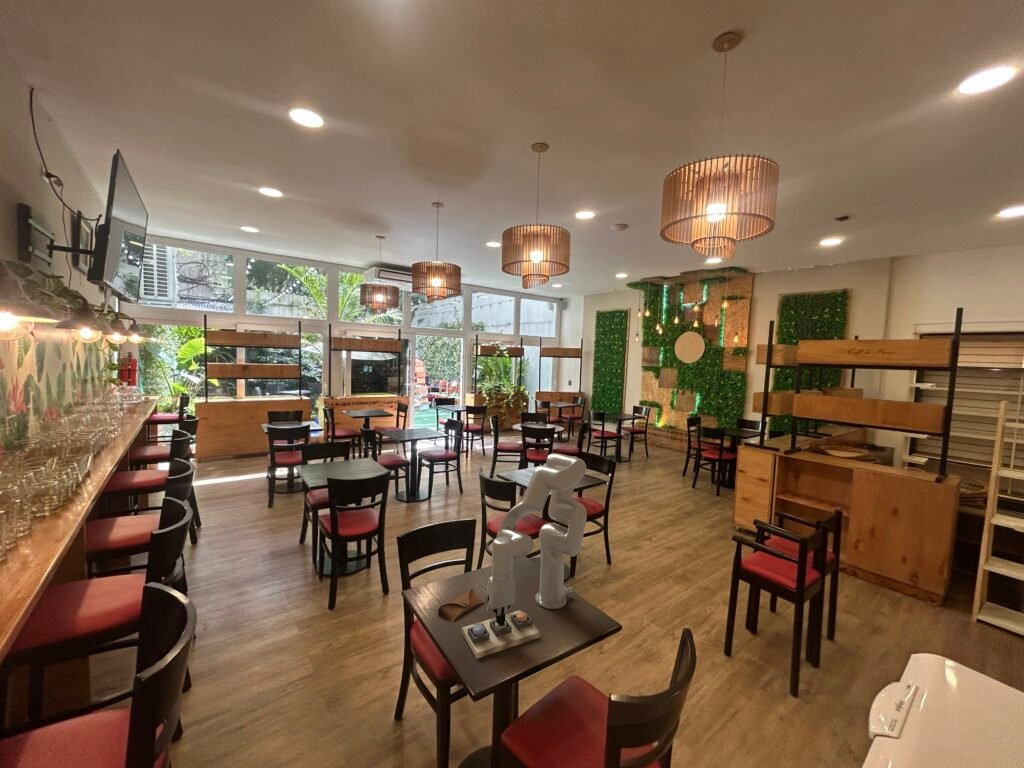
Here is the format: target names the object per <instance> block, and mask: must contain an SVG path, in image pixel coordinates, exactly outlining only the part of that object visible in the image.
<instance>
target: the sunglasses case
mask: <svg viewBox="0 0 1024 768" xmlns="http://www.w3.org/2000/svg"><path fill="white" fill-rule="evenodd" d="M484 604H485V602H484V601H483V600H482V599H481V598H480V596H478V594H477V593H476V592H475V591H474V589H473V588H471V589H469V590H468V591H466V592H464V593H462V594H461V595H459V596H457V597H454V598H453V599H452V600H449V601H448V602H446V603H444V604H442V605H440V607H438V609H437V610H438V611H437V614H438V616H440V617H442V618H444V619H445V620H447V621H449V622H451V623H452V624H453V623H455V622H456V621H457V620H458V619H461V618H462V617H463V616H465V615H467V614H468V613H469V612H471V611H473V610H475V609H476V608H478V607H480V606H483V605H484Z"/></svg>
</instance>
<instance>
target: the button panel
mask: <svg viewBox="0 0 1024 768" xmlns="http://www.w3.org/2000/svg"><path fill="white" fill-rule="evenodd" d="M519 612H524V613H526V614H527V612H526V611H525V610H524V611H522V610H521V609H519V610H515V611H512V612H508V613H507V614H505V622H506V628H503V629H500V630H497V628H496V627H495V622H496V616H495V617H492V618H489V619H485V620H483V621H478V622H475V623H472V624H469V625H466V626H462V627H461V635H462V636H463V638H464V640H465V641H466V643H467V644H468V646H469V648H470V650H471V651H472V653H473V654H474V657H475V658H476V659H481V658H484V657H486V656H490V655H493V654H495V653H498V652H501V651H504V650H507V649H510V648H513V647H515V646H518V645H521V644H524V643H526V642H530V641H533V640H537V639H539V638H540V636H541V635H540V631H539V629H538V628H537V627H536V626H535V625H534V624H533V619H532V618H531V617H530V615H528V614H527V621H525V622H522V623H518V621H517V620H516V614H517V613H519ZM476 625H482V626H484V628H485V629H484V635H481V636H477V637H475V636H474V635H473V627H474V626H476Z"/></svg>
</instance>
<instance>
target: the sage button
mask: <svg viewBox="0 0 1024 768" xmlns="http://www.w3.org/2000/svg"><path fill="white" fill-rule="evenodd" d="M495 627H496V628H497V630H500V629H503V628H506V622H505V624H504V626H503V625H502V626H501V627H500V626H499V624H498V623H497V622H495Z"/></svg>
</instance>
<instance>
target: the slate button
mask: <svg viewBox="0 0 1024 768" xmlns="http://www.w3.org/2000/svg"><path fill="white" fill-rule="evenodd" d="M484 629H485V628H484V626H482V625H476V626H474V627H473V635H474V636H475V637H477V636H481V635H484Z"/></svg>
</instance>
